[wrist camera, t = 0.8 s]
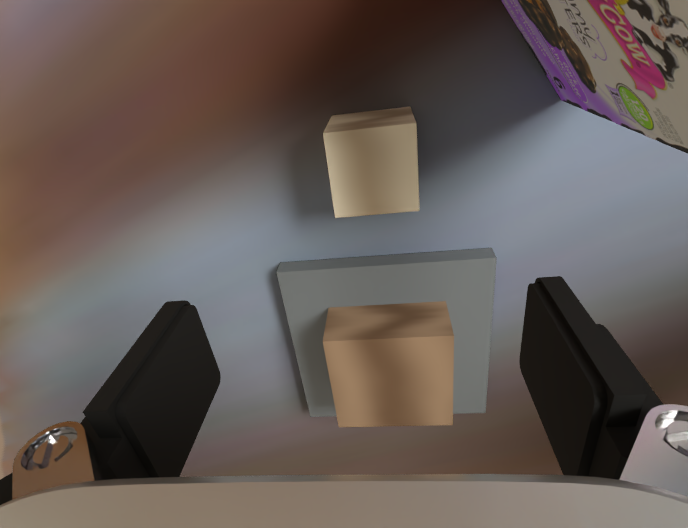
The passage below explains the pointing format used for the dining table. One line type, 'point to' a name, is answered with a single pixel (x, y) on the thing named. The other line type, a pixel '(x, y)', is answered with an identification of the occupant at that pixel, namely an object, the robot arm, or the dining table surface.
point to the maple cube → (373, 162)
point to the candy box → (615, 59)
